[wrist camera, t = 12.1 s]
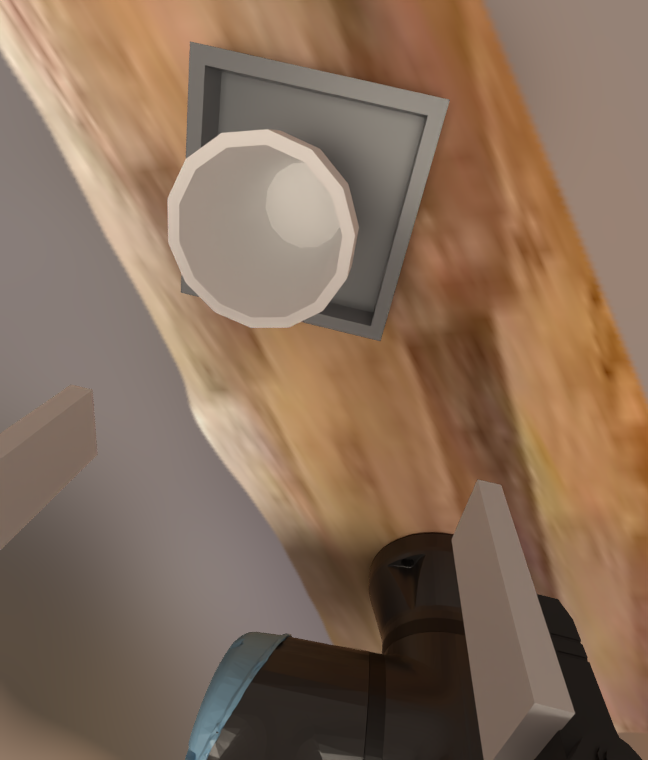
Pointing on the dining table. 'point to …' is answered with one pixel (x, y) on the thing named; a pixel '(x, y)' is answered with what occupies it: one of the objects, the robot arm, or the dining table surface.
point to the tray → (331, 157)
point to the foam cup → (262, 227)
